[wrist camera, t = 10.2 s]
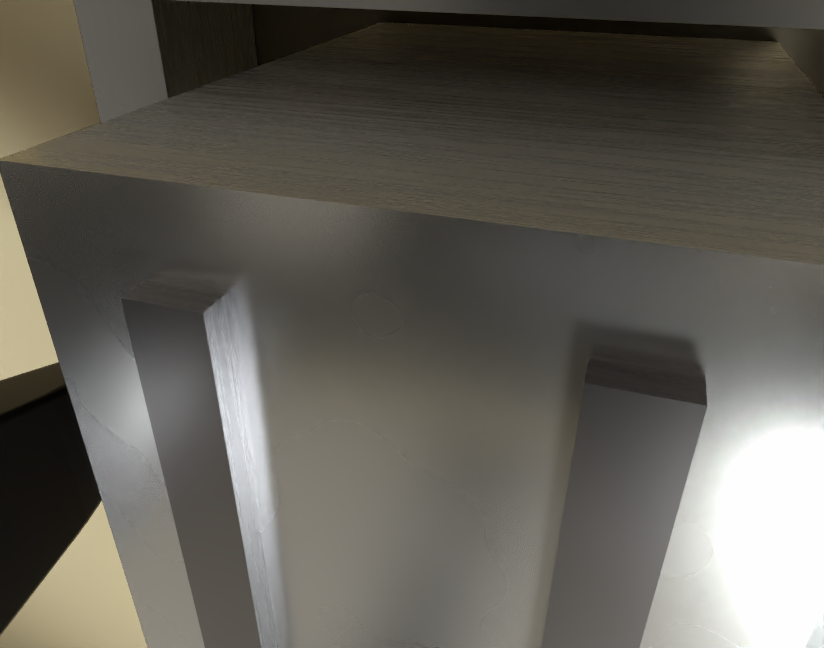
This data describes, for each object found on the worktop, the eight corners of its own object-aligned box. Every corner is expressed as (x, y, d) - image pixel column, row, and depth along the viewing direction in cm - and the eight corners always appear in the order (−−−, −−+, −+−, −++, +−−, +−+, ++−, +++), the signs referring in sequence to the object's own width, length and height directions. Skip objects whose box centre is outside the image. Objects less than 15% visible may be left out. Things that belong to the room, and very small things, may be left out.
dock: (805, 665, 11) (840, 871, 9) (257, 517, 14) (169, 644, 12) (1197, -130, 6) (1583, -165, 3) (159, -119, 8) (-51, -134, 6)
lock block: (644, 553, 11) (619, 1055, 6) (390, 491, 13) (201, 873, 8) (776, 40, 7) (998, 312, 2) (383, 21, 9) (-36, 171, 4)
